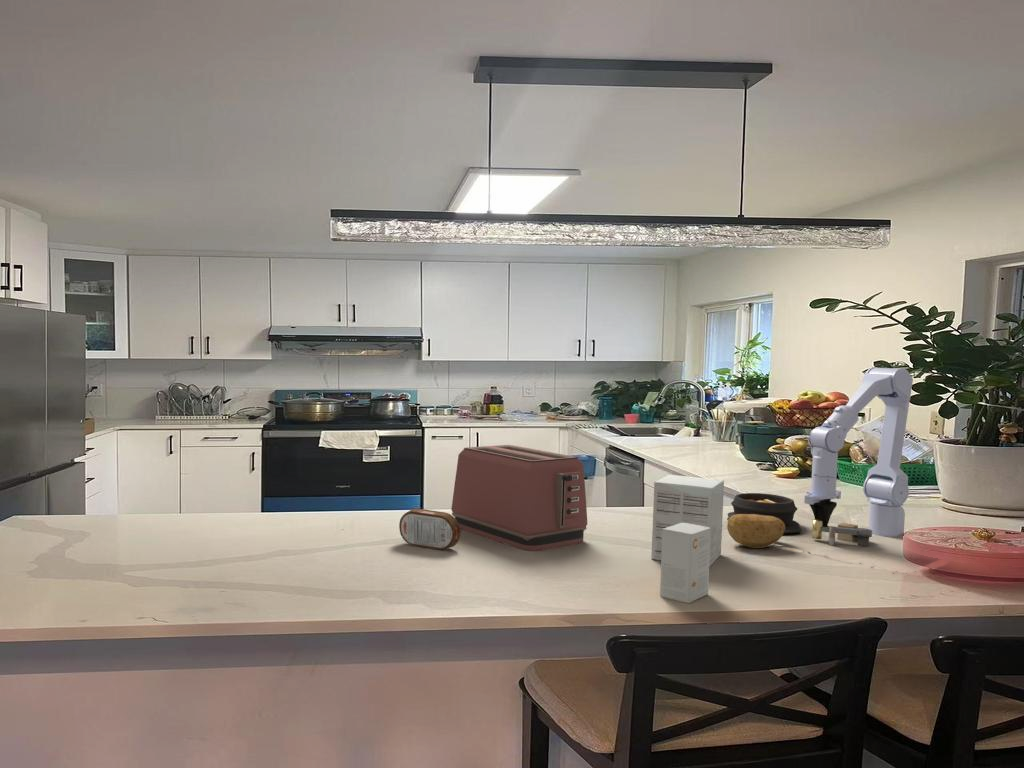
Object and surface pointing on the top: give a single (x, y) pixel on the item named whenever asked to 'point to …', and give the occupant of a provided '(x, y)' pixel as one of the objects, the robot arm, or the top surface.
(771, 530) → the potato
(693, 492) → the supplement box
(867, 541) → the press base
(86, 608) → the top surface
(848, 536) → the nut block
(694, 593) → the small box
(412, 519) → the tin
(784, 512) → the casserole
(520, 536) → the toaster
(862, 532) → the lever
